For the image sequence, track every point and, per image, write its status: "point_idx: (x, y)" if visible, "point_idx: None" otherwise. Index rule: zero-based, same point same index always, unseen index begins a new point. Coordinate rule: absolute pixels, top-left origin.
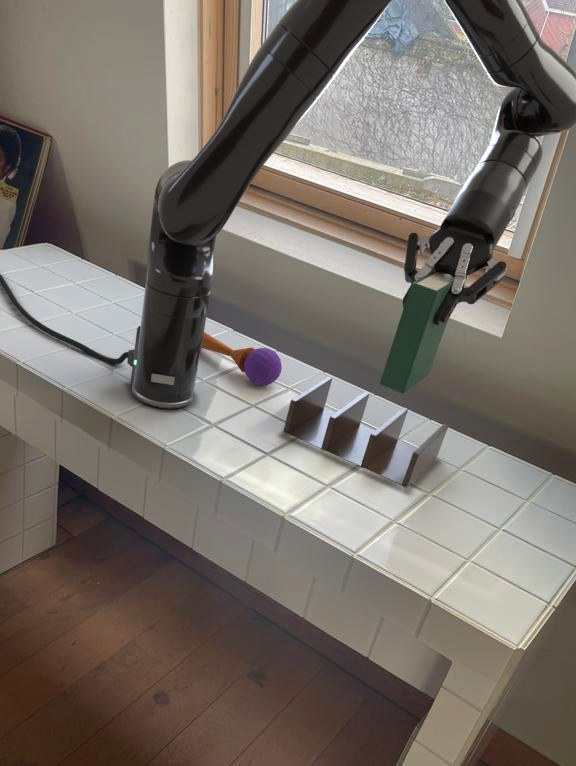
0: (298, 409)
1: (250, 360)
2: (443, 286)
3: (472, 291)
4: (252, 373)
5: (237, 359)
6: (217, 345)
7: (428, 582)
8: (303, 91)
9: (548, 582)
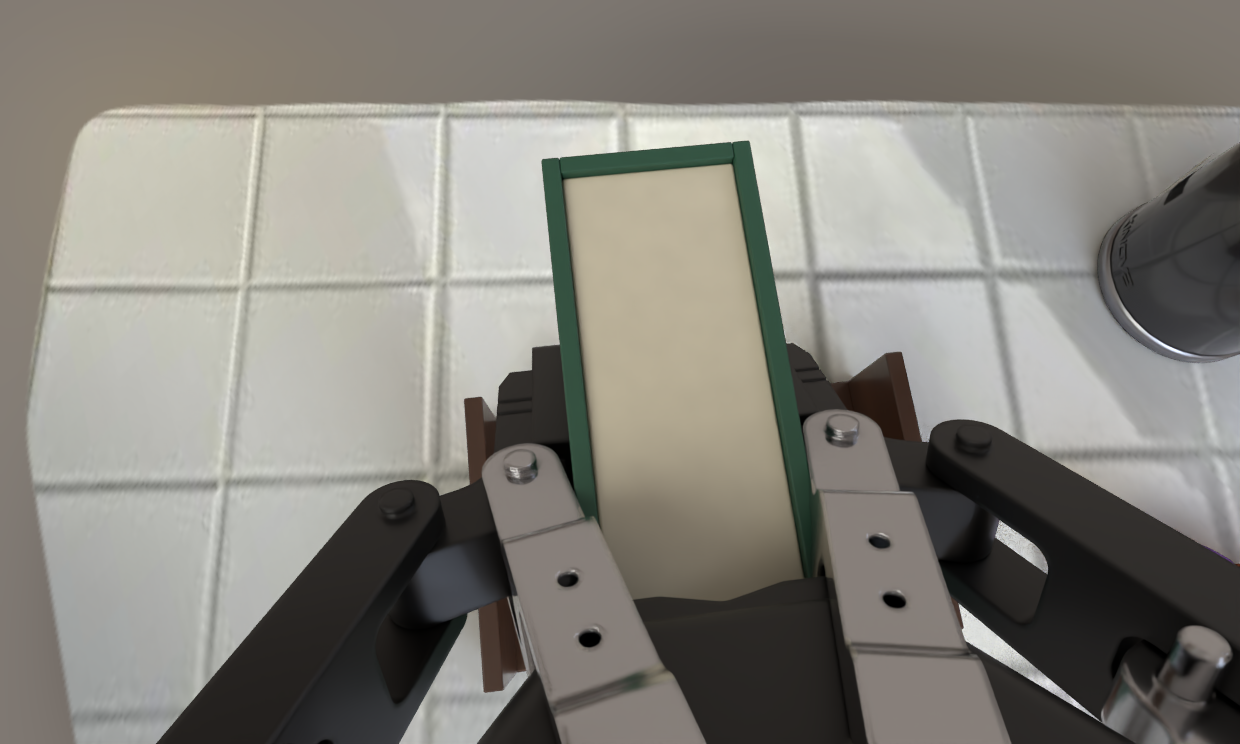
0: (877, 397)
1: (1207, 547)
2: (589, 351)
3: (387, 497)
4: None
5: None
6: None
7: (286, 149)
8: None
9: (61, 364)
